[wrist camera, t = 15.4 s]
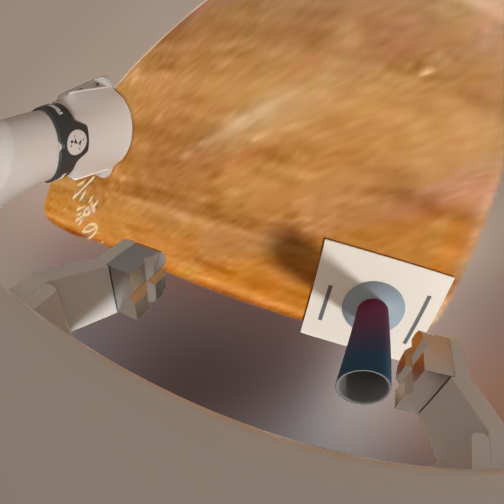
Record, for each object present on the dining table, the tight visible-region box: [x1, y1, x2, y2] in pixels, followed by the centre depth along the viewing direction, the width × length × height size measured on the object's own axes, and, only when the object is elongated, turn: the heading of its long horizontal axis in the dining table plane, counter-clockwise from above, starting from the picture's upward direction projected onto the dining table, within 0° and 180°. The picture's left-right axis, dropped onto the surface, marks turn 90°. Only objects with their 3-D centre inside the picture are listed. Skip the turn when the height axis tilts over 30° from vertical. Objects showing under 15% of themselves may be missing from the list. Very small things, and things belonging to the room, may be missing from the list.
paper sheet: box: [301, 239, 455, 360], centre depth 44 cm, size 20×18×1 cm
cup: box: [335, 299, 391, 405], centre depth 38 cm, size 7×7×15 cm
